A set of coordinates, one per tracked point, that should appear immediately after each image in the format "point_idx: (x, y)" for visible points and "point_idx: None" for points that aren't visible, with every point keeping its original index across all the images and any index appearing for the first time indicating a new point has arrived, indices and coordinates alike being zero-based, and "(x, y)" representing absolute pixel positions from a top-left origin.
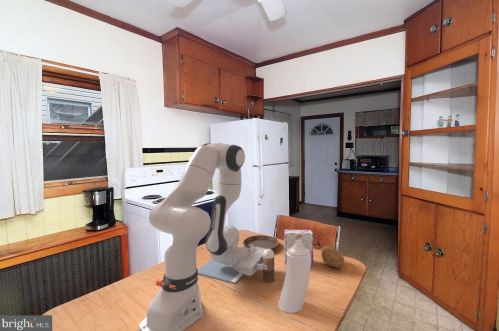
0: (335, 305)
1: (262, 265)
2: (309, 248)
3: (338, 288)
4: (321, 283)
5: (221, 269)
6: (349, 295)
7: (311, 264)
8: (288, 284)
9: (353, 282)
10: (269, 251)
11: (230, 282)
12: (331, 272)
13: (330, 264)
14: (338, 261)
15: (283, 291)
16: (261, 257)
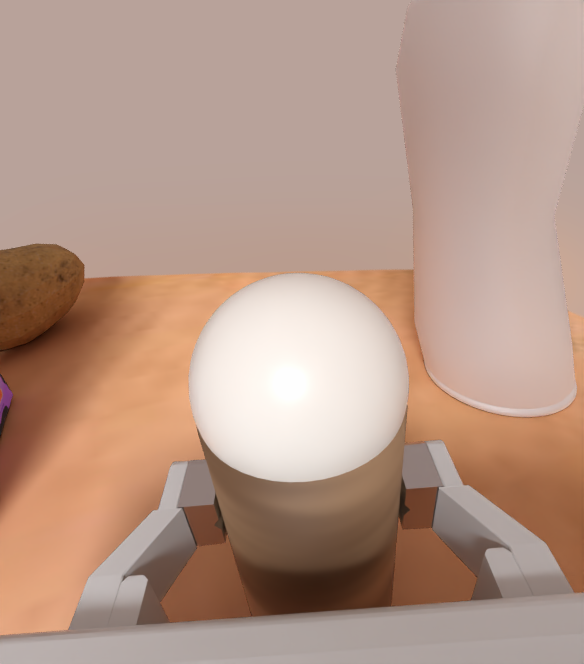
0: (354, 283)
1: (475, 494)
2: None
3: None
4: None
5: None
6: (268, 273)
7: (8, 396)
8: (557, 238)
9: (174, 279)
10: (332, 279)
11: None
12: (99, 328)
13: (57, 310)
14: (78, 262)
15: (561, 308)
16: (257, 616)
